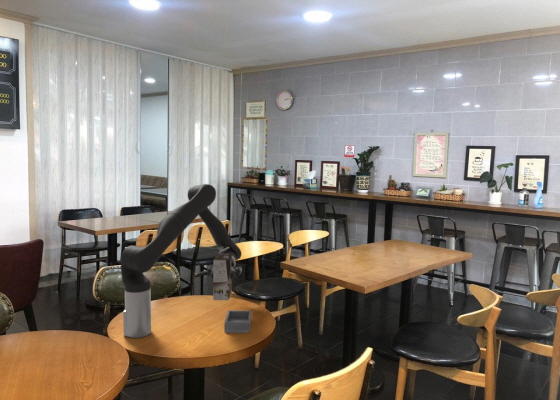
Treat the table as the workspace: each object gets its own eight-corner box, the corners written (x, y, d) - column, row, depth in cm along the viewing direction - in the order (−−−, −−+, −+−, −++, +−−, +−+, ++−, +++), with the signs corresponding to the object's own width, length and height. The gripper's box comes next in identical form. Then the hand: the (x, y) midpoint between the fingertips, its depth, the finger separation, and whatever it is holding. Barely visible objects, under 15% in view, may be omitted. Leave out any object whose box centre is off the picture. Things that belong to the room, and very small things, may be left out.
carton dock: (224, 332, 168) (224, 322, 167) (227, 319, 180) (227, 310, 180) (249, 332, 168) (249, 322, 168) (251, 320, 181) (251, 310, 180)
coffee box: (229, 300, 169) (229, 260, 167) (212, 300, 169) (212, 259, 167) (232, 292, 178) (232, 254, 176) (216, 292, 178) (216, 253, 176)
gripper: (209, 255, 186) (203, 266, 169) (243, 256, 186) (241, 267, 170) (209, 272, 187) (203, 285, 170) (243, 273, 187) (240, 285, 171)
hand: (222, 276), depth 170 cm, fingers closed on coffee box, 6 cm apart
